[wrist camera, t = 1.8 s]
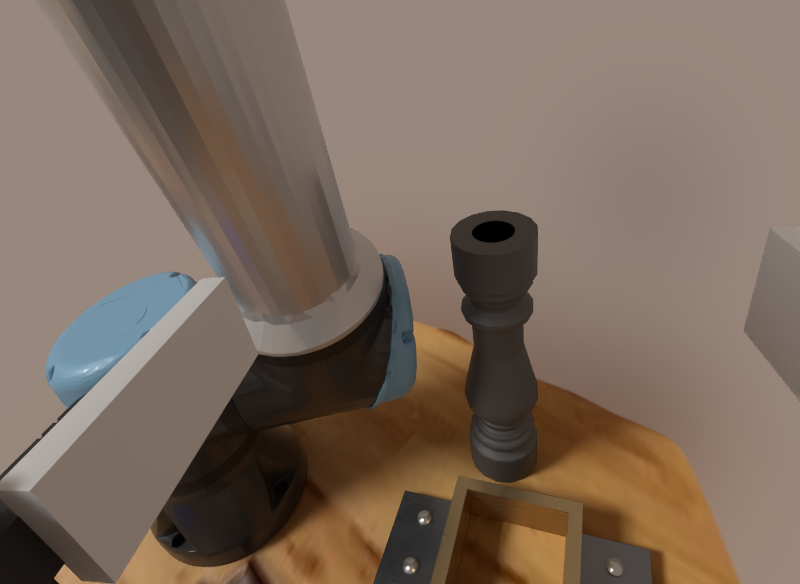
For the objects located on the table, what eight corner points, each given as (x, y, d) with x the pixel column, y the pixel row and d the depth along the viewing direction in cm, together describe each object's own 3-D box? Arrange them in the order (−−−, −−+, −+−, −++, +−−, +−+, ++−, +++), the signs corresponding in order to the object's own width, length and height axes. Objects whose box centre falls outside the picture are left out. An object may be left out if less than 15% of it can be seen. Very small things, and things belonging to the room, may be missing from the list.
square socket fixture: (371, 603, 36) (360, 582, 34) (410, 487, 44) (403, 463, 41) (656, 701, 29) (668, 683, 27) (646, 544, 37) (655, 519, 34)
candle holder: (496, 416, 48) (483, 201, 34) (549, 448, 45) (561, 221, 30) (459, 457, 45) (426, 240, 31) (512, 495, 41) (505, 268, 27)
